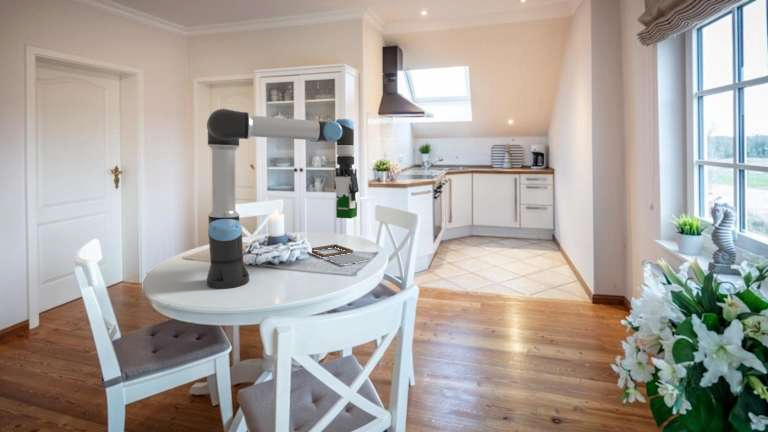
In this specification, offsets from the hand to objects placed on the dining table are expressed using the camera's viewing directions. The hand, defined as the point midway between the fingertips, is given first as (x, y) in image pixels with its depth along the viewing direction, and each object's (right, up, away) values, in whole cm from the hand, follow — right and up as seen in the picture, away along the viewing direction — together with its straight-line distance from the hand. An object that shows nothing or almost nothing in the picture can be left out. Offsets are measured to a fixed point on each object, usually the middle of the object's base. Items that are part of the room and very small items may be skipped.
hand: (346, 206), depth 194 cm
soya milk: (0, -5, +1) cm, 5 cm away
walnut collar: (-9, -22, +18) cm, 30 cm away
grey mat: (0, -24, +4) cm, 24 cm away
